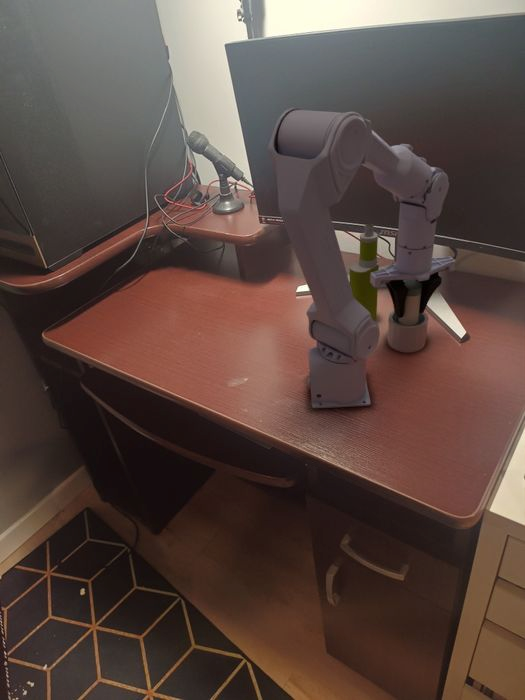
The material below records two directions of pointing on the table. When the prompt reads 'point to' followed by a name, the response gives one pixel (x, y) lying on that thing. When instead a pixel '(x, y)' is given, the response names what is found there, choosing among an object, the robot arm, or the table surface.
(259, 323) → the table surface
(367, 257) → the vape
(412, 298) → the cylinder
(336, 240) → the robot arm
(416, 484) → the table surface
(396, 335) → the light grey round cup
